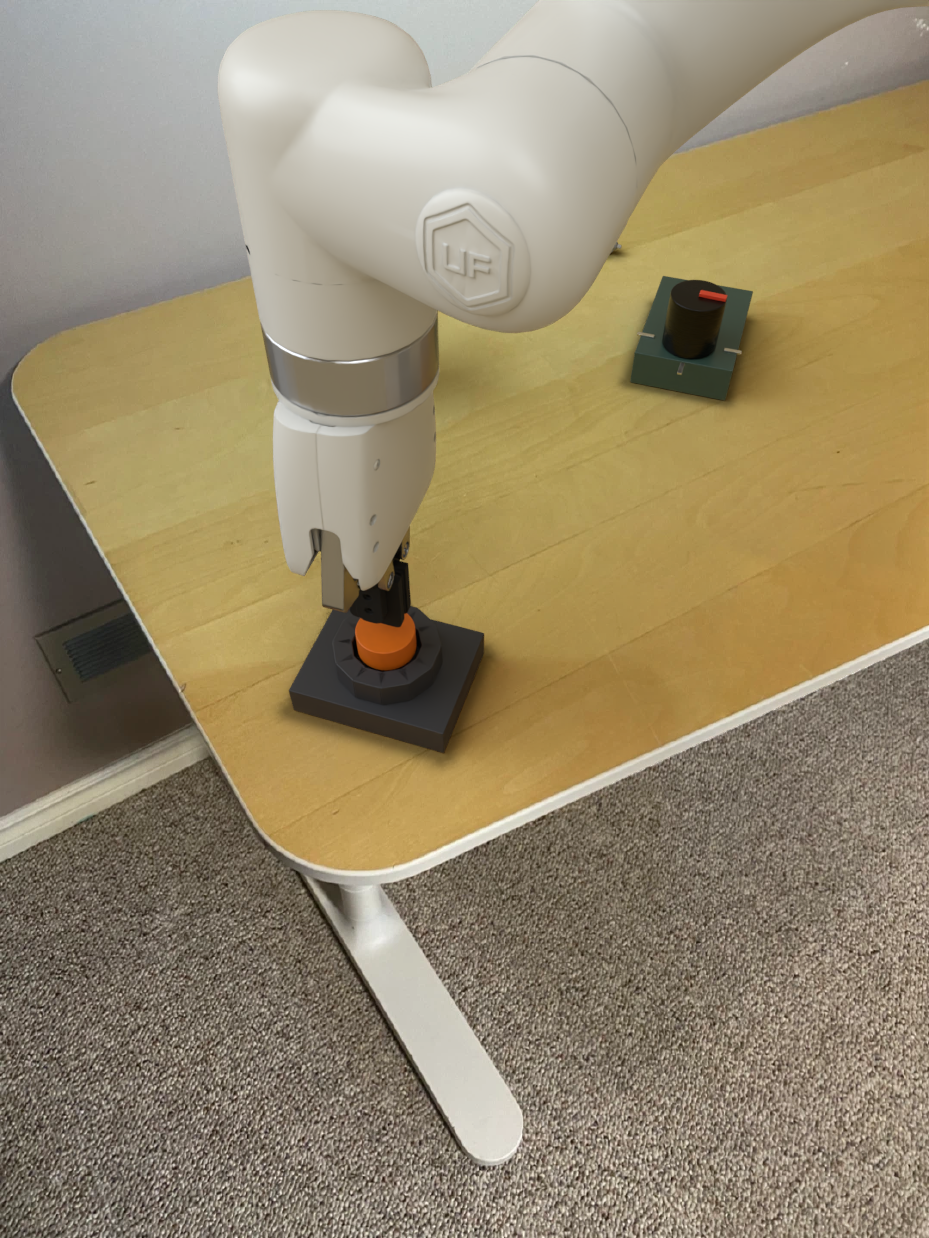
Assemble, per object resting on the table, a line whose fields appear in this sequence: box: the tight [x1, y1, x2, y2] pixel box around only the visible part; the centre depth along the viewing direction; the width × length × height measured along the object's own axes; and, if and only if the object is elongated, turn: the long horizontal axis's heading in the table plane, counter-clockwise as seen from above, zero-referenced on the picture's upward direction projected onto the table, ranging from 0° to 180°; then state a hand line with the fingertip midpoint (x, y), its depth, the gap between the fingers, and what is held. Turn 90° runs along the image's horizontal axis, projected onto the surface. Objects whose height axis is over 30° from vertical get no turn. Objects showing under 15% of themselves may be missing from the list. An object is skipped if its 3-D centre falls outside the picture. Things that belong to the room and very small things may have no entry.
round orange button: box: [355, 613, 416, 670], centre depth 58 cm, size 4×4×2 cm
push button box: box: [288, 605, 485, 754], centre depth 60 cm, size 10×8×4 cm
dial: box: [662, 279, 727, 359], centre depth 77 cm, size 4×4×5 cm
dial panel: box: [629, 275, 754, 401], centre depth 82 cm, size 14×9×3 cm, turn 162°
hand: (380, 611), depth 56 cm, fingers closed
